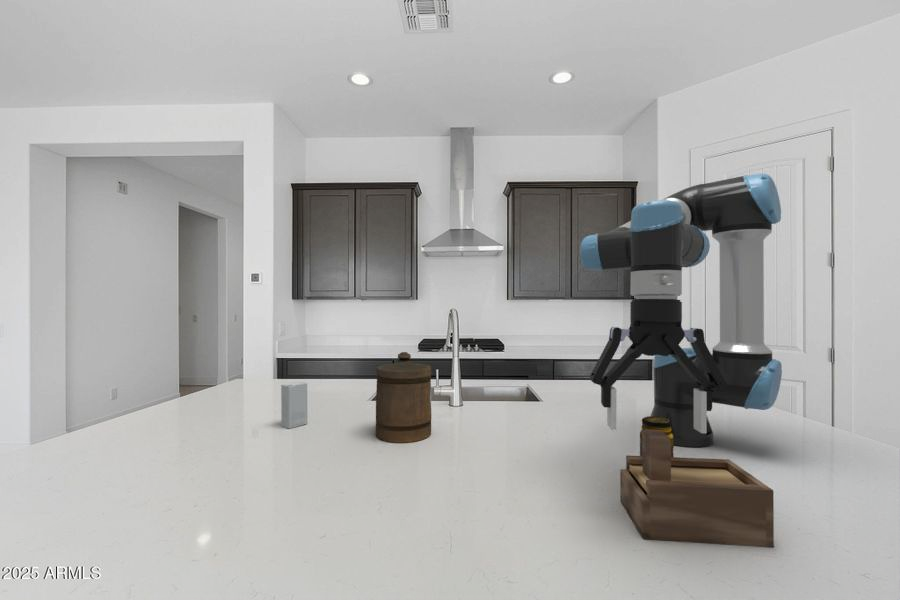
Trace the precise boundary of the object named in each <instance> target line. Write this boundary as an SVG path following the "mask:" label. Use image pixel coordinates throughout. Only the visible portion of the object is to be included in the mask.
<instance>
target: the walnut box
mask: <svg viewBox="0 0 900 600" xmlns="http://www.w3.org/2000/svg"><path fill="white" fill-rule="evenodd" d="M629 464H639V465H643V463H642V456H640V455H629V454H628V455H627V454H626V455H625V469H624V468H620V470H619V473H620V475H619V476H620V479H619V481H620V484H619V485H620V488H619V489H620V492H619V493H620V496H619V497H620V499H619V500H620V503H621V505H622V506H623V508H624V510H625V511H626V513H627V514H628V517H629V518H630V520H631V521H632V523H633V525H634V526H635V528H636V530H637V531H638V533H639V535H640V536H641V538H642V539H643V540H649V541H650V540H651V541H664V542H665V541H669V542H683V543H699V544H700V543H701V544H717V545H732V546H747V547H762V548H765V547H766V548H774V547H775V546H774V544H775V542H774V541H775V539H774V537H775V536H774V535H775V534H774V533H775V532H774V531H775V530H774V529H775V528H774V521H775V520H774V519H775V517H774V515H775V513H774V510H775V508H774V507H775V506H774V490H773V489H772V488H771V487H769V486H768V485H766V484H765V483H764V482H763V481H761V480H760V479H757V478H756V477H755V476H753V475H752V474H751V473H749V472H748V471H746V470H745V469H743V468H742V467H740V466H739V465H737V463H735V462H733V461H732V460H730V459H726V458H725V459H724V458H701V457H698V458H697V457H677V456H673V457H671V466H687V467H710V468H724V469H725V470H727V471H728V472H729V473H731V474H732V475H733V476H735V477H736V478H737V479H739V480H740V481H741V482H743V483H744V484H728V483H707V482H685V481H663V480H646V486H647V487H648V488H649V495H648V493H647V492H646V491H645V489H644V488H643V487H642V486H641V484H640V483H639V482H638V480H637V479H636V478H635V476H634V475H633V474H632V472H631V471H630V470H629Z"/></svg>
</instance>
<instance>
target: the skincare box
mask: <svg viewBox="0 0 900 600" xmlns="http://www.w3.org/2000/svg"><path fill="white" fill-rule="evenodd" d="M280 388H281V389H280V393H281V395H280V396H281V397H280V400H281V404H280V405H281V409H280V411H281V418H280V419H281V426H282V427H284V428H286V429H293V428H296V427H301V426H304V425H307V424H308V383H307V382H303V381H296V382H290V383H284V384H283V383H282V384H281V385H280Z"/></svg>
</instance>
